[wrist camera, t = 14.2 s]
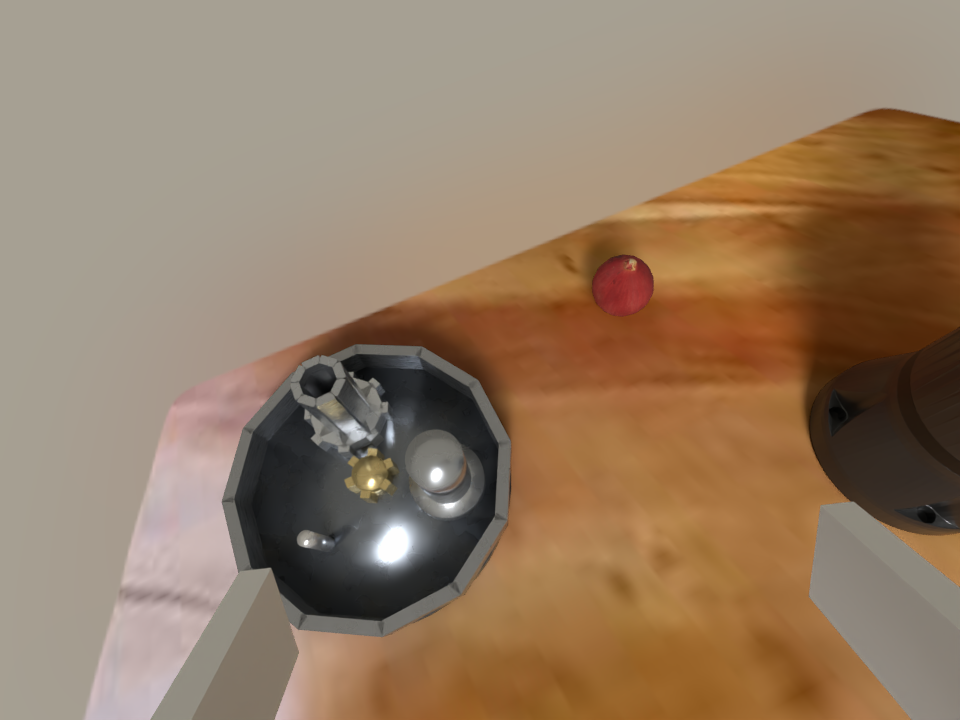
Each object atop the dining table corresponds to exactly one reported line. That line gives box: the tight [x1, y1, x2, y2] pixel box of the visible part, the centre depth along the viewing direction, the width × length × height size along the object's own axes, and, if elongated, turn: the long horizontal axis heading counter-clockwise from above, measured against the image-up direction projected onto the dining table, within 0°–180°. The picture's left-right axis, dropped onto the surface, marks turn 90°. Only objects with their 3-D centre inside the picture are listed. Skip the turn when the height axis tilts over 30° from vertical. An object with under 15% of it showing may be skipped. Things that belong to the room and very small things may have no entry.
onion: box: [592, 255, 653, 316], centre depth 48 cm, size 6×6×8 cm
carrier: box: [222, 344, 511, 637], centre depth 40 cm, size 24×24×10 cm
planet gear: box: [290, 355, 393, 458], centre depth 42 cm, size 8×8×9 cm
